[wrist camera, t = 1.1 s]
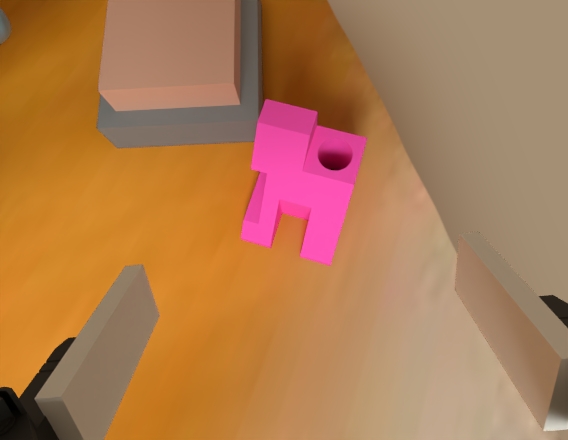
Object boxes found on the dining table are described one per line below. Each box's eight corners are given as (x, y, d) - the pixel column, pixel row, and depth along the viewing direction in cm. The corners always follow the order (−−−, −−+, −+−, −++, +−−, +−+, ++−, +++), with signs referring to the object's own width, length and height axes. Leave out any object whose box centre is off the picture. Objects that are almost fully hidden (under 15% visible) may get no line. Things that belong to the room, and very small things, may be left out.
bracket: (274, 146, 48) (265, 98, 38) (357, 168, 46) (371, 124, 36) (242, 239, 45) (224, 214, 35) (330, 265, 43) (337, 247, 33)
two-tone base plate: (117, 148, 48) (76, 109, 40) (130, 14, 54) (96, -47, 45) (263, 141, 48) (253, 99, 39) (261, 5, 53) (252, -58, 44)
